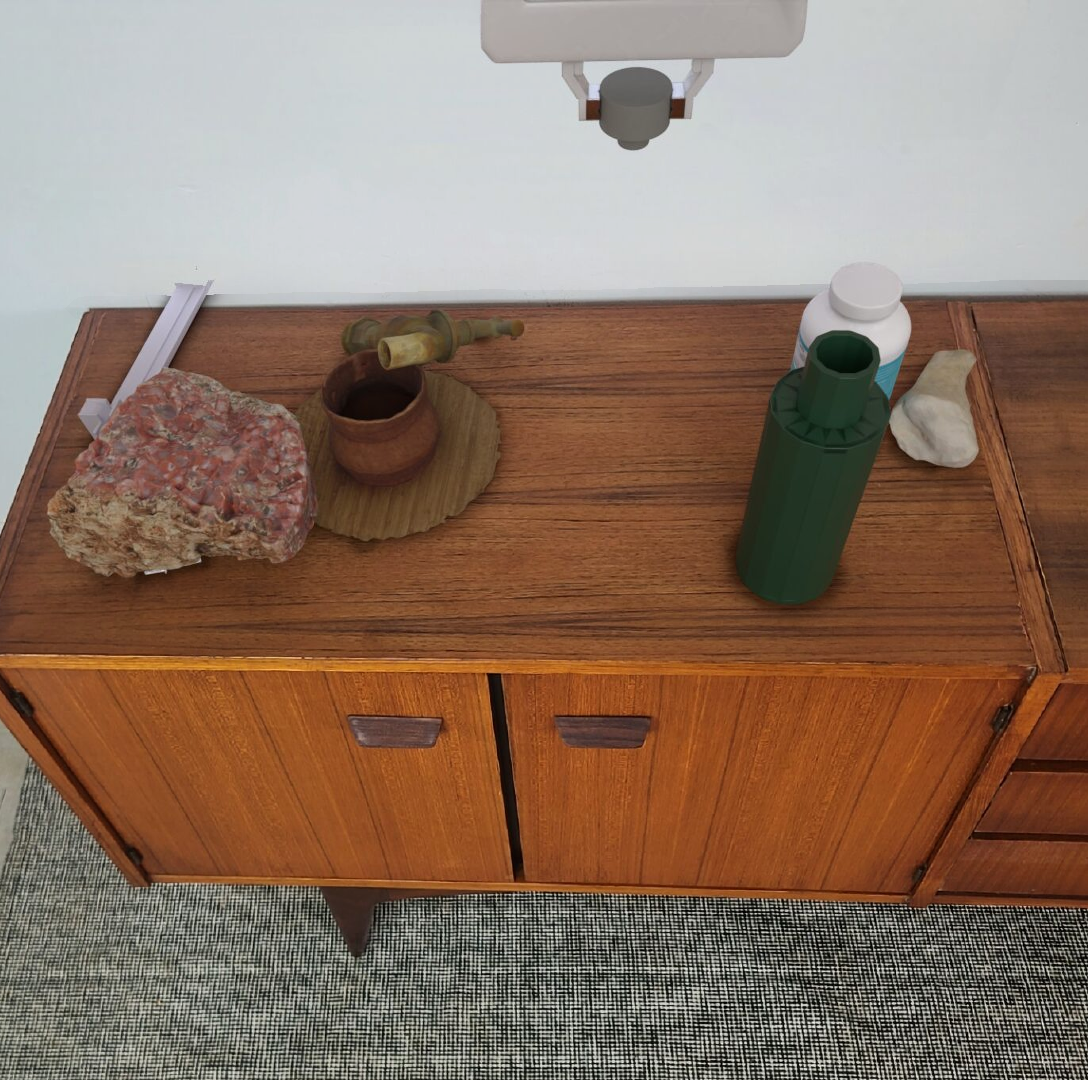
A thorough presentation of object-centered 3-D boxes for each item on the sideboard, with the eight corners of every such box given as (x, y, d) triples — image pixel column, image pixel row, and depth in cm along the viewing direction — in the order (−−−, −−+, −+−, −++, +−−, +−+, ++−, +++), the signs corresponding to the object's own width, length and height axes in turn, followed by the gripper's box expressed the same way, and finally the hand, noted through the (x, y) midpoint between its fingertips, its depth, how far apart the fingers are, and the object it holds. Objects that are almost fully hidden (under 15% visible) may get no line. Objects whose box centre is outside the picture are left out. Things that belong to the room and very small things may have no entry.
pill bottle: (884, 400, 84) (932, 258, 73) (870, 469, 80) (919, 331, 69) (788, 381, 86) (821, 240, 75) (770, 448, 82) (802, 310, 71)
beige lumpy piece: (969, 479, 79) (989, 434, 75) (881, 468, 80) (896, 423, 76) (968, 372, 85) (987, 325, 81) (886, 363, 86) (900, 317, 82)
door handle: (172, 250, 95) (202, 249, 94) (186, 277, 97) (215, 277, 97) (71, 425, 83) (104, 426, 83) (89, 451, 86) (122, 452, 85)
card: (146, 580, 78) (144, 577, 78) (139, 553, 80) (138, 551, 80) (265, 540, 80) (264, 538, 80) (256, 515, 81) (255, 512, 81)
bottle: (828, 527, 77) (899, 312, 61) (838, 606, 74) (916, 398, 57) (733, 525, 78) (777, 311, 62) (738, 603, 74) (786, 397, 58)
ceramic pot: (227, 471, 84) (202, 408, 78) (375, 339, 91) (361, 272, 85) (404, 579, 77) (391, 518, 71) (548, 427, 84) (546, 360, 78)
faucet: (294, 321, 86) (448, 300, 94) (302, 374, 88) (453, 348, 96) (388, 324, 75) (553, 300, 83) (395, 384, 76) (557, 355, 84)
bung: (667, 121, 76) (671, 65, 72) (668, 161, 73) (673, 106, 70) (599, 121, 76) (600, 67, 73) (597, 162, 73) (599, 107, 70)
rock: (152, 435, 87) (68, 581, 78) (117, 341, 78) (19, 493, 70) (355, 471, 84) (291, 627, 76) (340, 378, 76) (267, 540, 68)
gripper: (460, -77, 61) (479, 145, 72) (831, -90, 59) (790, 140, 70) (470, -128, 64) (486, 92, 76) (820, -141, 62) (783, 86, 74)
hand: (635, 115), depth 73 cm, fingers closed on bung, 5 cm apart
